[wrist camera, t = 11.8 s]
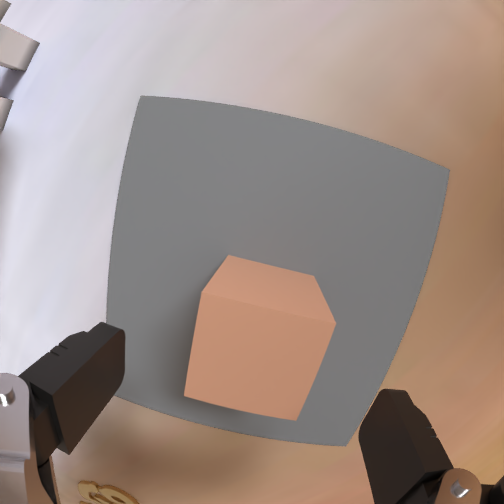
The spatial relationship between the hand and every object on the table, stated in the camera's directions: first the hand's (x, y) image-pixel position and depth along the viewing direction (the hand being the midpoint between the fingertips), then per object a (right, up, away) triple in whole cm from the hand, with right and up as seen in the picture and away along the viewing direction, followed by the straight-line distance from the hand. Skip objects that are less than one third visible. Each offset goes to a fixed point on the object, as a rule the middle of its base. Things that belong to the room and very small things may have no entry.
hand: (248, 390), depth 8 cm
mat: (0, +1, +8) cm, 8 cm away
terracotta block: (+1, +1, +8) cm, 8 cm away
